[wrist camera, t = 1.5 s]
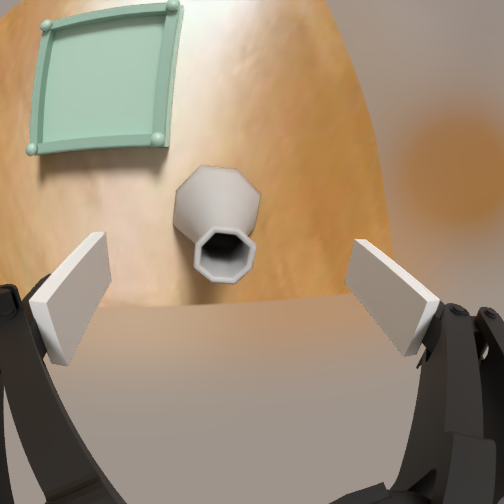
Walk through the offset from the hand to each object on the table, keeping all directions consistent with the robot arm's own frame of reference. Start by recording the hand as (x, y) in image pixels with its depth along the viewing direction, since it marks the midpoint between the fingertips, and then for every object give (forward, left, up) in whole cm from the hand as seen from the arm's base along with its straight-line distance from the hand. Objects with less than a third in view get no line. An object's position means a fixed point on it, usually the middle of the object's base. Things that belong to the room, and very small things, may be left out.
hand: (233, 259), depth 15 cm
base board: (-10, +11, -10) cm, 18 cm away
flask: (0, 0, -10) cm, 10 cm away
